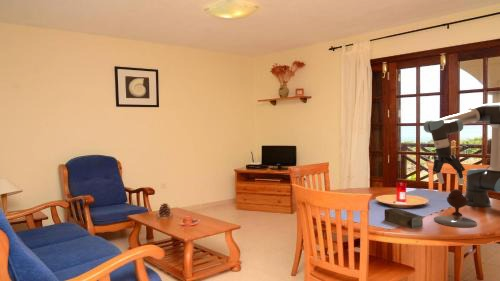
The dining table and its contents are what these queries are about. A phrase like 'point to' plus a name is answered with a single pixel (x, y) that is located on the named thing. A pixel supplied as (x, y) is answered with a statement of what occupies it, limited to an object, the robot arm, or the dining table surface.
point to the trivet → (455, 221)
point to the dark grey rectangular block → (404, 218)
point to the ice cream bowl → (457, 201)
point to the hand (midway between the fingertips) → (451, 183)
